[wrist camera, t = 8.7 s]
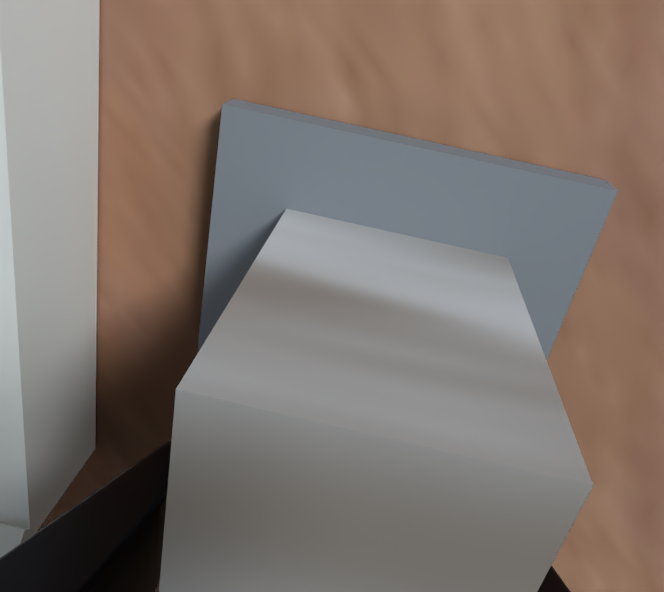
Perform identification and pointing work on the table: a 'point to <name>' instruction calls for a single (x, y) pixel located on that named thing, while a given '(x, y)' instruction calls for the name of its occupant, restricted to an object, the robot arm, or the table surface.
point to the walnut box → (369, 426)
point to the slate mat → (397, 202)
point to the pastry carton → (46, 254)
